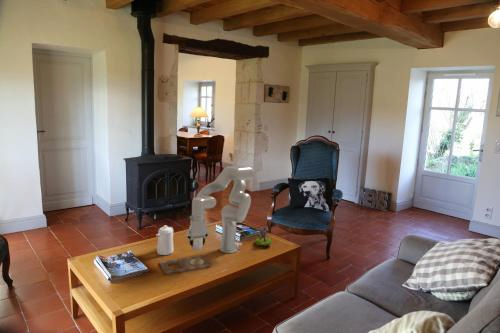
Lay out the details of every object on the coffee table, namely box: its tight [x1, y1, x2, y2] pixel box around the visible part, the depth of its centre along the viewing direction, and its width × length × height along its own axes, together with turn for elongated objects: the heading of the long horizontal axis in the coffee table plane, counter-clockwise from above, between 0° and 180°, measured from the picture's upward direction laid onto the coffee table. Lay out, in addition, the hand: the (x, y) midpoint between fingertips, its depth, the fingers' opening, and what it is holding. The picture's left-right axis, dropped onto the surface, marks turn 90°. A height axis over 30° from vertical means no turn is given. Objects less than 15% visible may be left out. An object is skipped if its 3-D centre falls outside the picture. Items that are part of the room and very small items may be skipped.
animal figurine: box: [253, 225, 273, 247], centre depth 261 cm, size 14×13×15 cm
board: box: [158, 255, 211, 276], centre depth 224 cm, size 28×16×1 cm, turn 116°
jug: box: [191, 236, 204, 251], centre depth 224 cm, size 11×7×8 cm, turn 26°
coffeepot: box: [155, 224, 175, 256], centre depth 240 cm, size 11×25×19 cm, turn 168°
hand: (197, 244), depth 225 cm, fingers closed on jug, 6 cm apart
